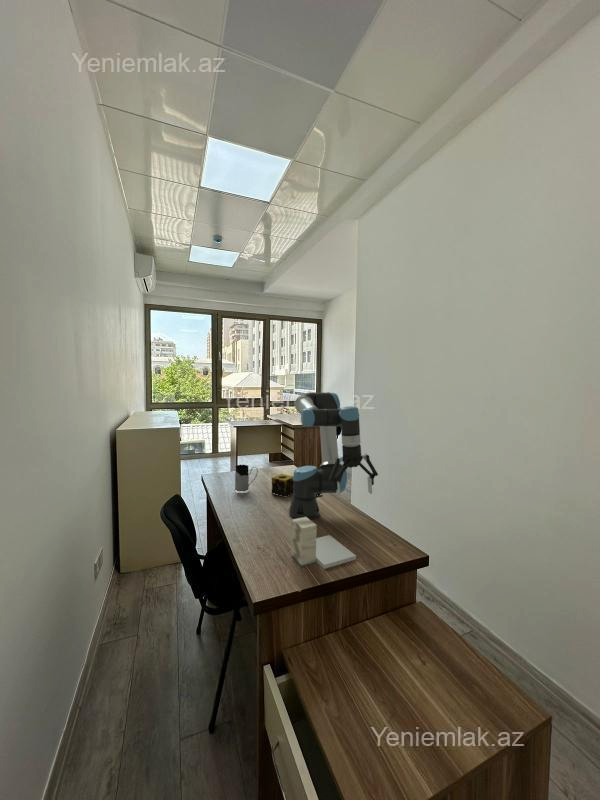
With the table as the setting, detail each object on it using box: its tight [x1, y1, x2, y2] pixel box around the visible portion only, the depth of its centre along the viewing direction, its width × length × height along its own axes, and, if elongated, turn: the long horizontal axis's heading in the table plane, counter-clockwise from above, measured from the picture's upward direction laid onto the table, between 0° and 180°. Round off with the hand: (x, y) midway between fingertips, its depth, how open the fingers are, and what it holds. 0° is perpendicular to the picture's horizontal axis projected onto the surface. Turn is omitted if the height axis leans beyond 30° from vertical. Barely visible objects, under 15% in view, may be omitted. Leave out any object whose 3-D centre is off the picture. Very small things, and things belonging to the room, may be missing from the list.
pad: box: [315, 534, 357, 570], centre depth 127 cm, size 18×14×2 cm
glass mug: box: [234, 464, 259, 491], centre depth 195 cm, size 9×14×15 cm, turn 119°
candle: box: [271, 473, 293, 497], centre depth 191 cm, size 10×10×10 cm
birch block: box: [291, 517, 318, 567], centre depth 121 cm, size 8×6×14 cm
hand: (354, 494), depth 135 cm, fingers open, 13 cm apart
